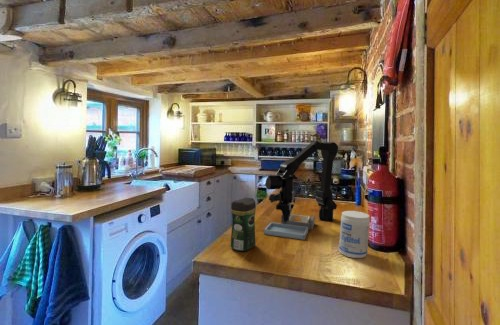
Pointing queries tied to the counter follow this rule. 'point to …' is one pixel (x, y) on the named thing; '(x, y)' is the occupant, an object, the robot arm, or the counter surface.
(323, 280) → the counter surface
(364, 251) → the supplement tub
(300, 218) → the ball
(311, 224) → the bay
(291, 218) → the white open-front box
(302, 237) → the tray
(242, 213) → the coffee jar
